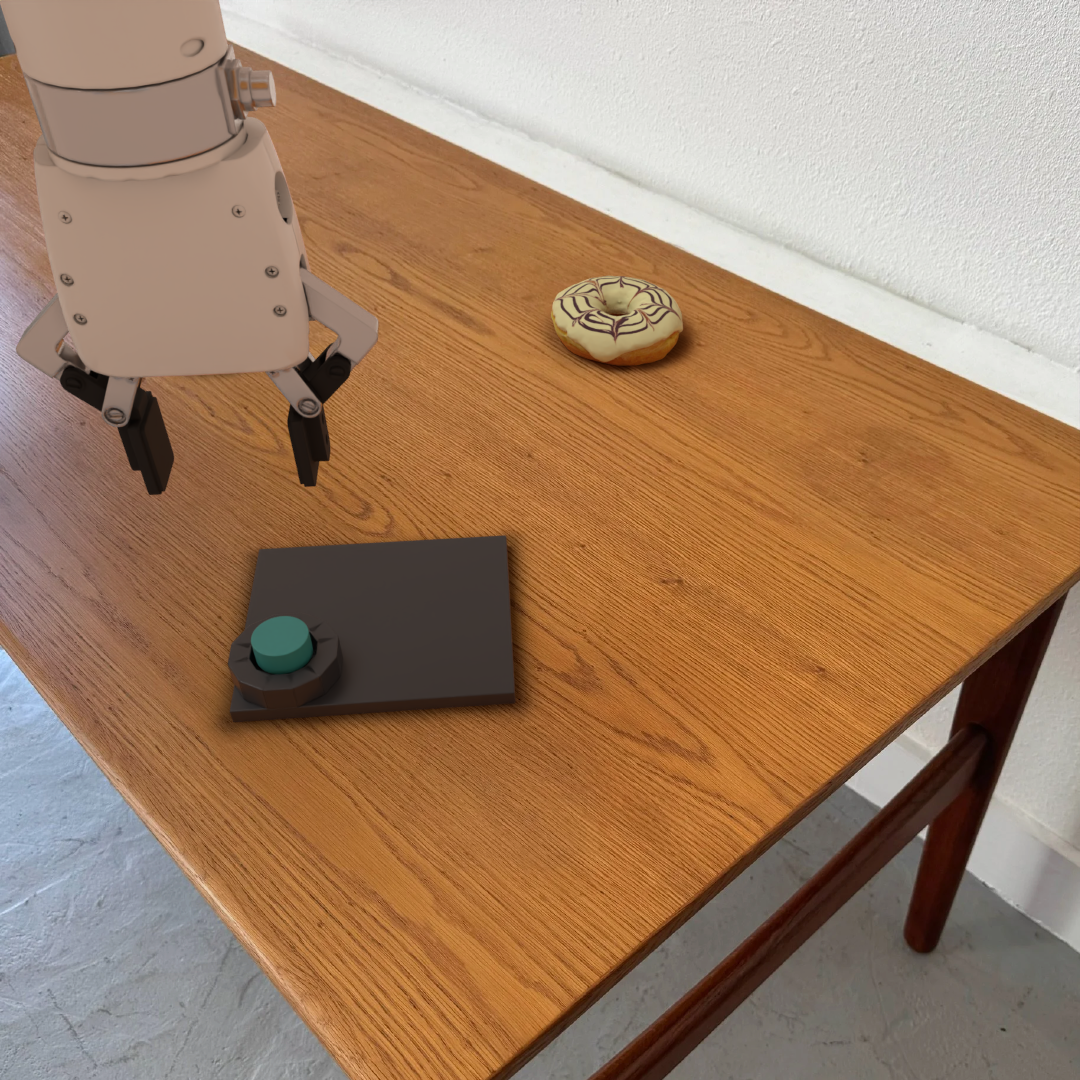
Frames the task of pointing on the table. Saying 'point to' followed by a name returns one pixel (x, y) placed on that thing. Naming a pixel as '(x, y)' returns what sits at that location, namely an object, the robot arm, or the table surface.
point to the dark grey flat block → (381, 628)
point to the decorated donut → (617, 320)
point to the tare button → (282, 645)
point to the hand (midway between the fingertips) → (236, 471)
